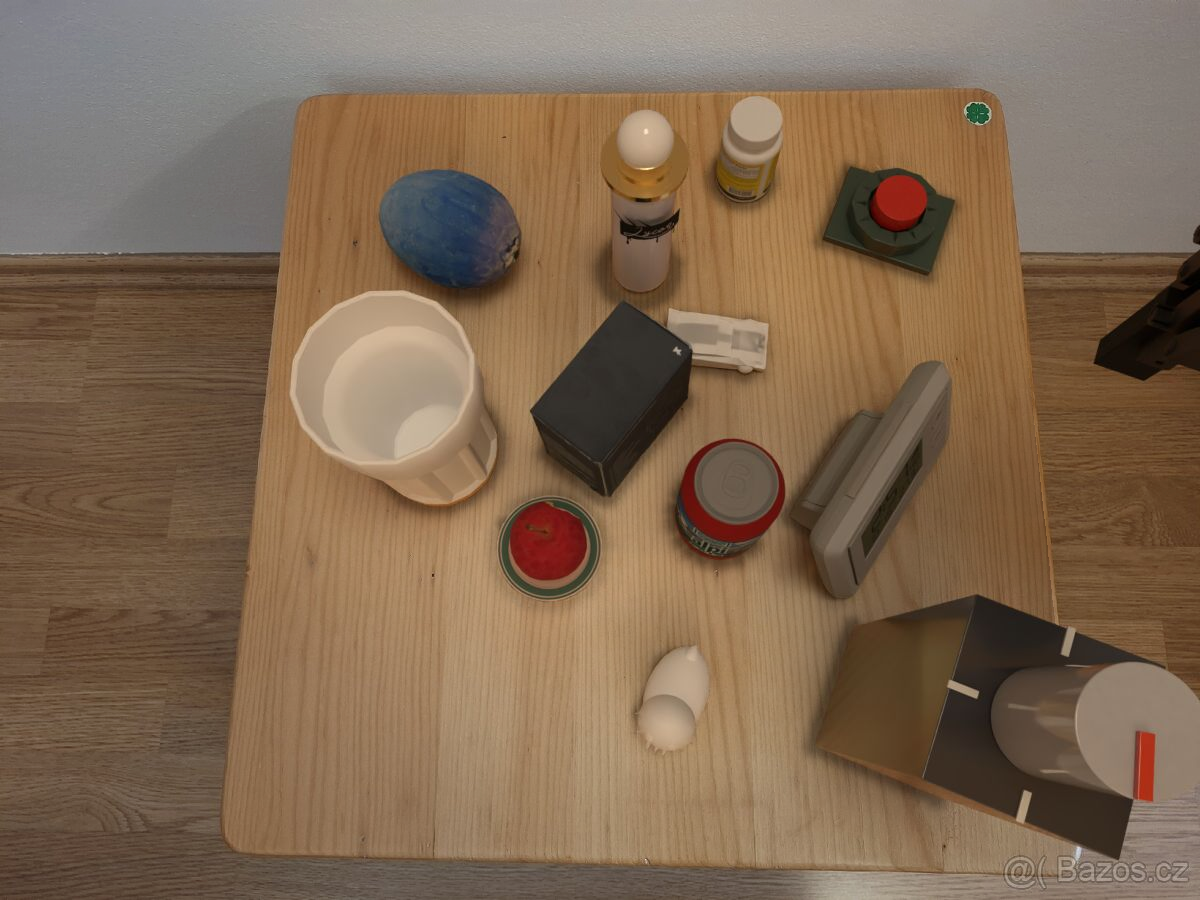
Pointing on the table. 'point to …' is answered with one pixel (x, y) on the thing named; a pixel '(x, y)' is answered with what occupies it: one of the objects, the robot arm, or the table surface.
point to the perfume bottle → (643, 196)
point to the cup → (396, 396)
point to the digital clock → (874, 477)
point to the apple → (549, 548)
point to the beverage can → (728, 498)
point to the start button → (898, 203)
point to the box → (614, 397)
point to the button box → (897, 247)
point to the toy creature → (674, 699)
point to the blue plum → (450, 228)
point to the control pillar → (964, 713)
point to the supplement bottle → (749, 149)
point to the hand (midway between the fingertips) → (1122, 360)
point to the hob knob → (1102, 728)
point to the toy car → (722, 340)
